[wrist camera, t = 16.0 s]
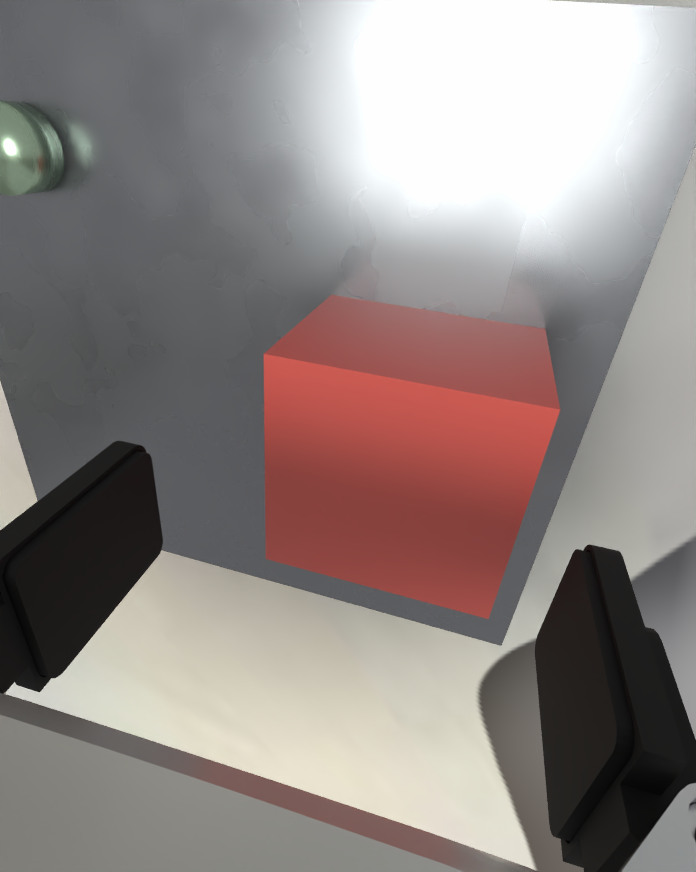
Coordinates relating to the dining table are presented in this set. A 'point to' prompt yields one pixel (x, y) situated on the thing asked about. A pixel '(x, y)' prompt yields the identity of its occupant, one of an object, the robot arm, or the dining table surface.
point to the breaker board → (315, 221)
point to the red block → (404, 447)
